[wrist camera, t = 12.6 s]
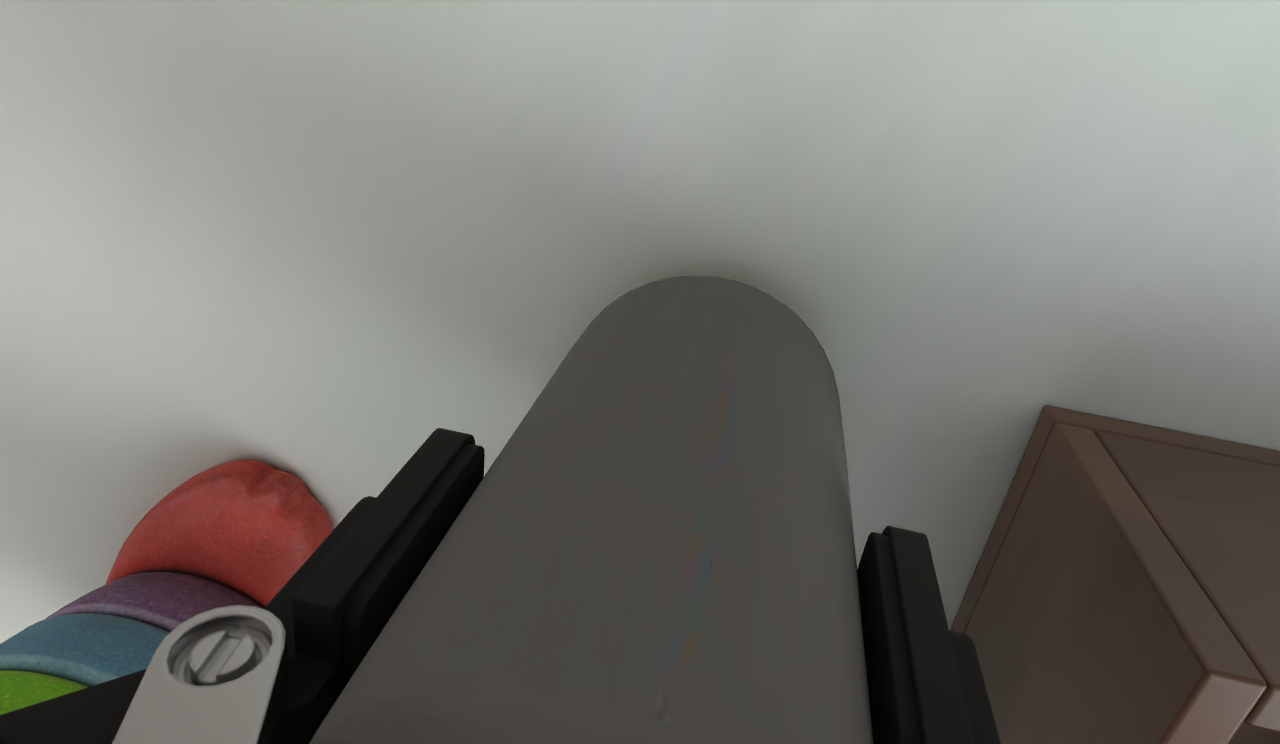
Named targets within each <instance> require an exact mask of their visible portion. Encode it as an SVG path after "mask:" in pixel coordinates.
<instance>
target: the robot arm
mask: <svg viewBox="0 0 1280 744" xmlns="http://www.w3.org/2000/svg"><path fill="white" fill-rule="evenodd" d="M483 477H484V448H483V447H482V446H478V445H475V440H474V437H473V436H472V435H470V434H465V433H460V432H456V431H451V430H447V429H442V428H437V429H436V430H435V431H434V432H433V433H432V434H431V435H430V436H429V438H428V439H427V440H426V441H425V442H424V443H423V445H422V446H421V447H420V448H419V449H418V450H417V452H416V453H415V454H414V455H413V456H412V457H411V459H410V460H409V461H408V462H407V463H406V464H405V465H404V467H403V468H402V469H401V470H400V471H399V472H398V474H397V475H396V476H395V477H394V478H393V479H392V481H391V482H390V483H389V484H388V485H387V486H386V488H385V489H384V490H383V491H382V492H381V493H380V495H379V496H378V497H377V498H375V497H371V496H369V497H365V498H363V499H362V500H361V501H360V502H358V503H357V504H356V505H355V507H354V508H353V509H352V510H351V511H350V512H349V513H348V514H347V516H346V517H345V518H344V519H343V520H342V521H341V522H340V523H339V524H338V526H337V527H336V528H335V529H334V530H333V531H332V532H331V533H330V535H329V536H328V537H327V538H326V539H325V540H324V541H323V542H322V544H321V545H320V546H319V547H318V548H317V549H316V550H315V551H314V553H313V554H312V555H311V556H310V557H309V558H308V559H307V560H306V562H305V563H304V564H303V565H302V566H301V567H300V568H299V569H298V571H297V572H296V573H295V574H294V575H293V576H292V577H291V578H290V580H289V581H288V582H287V583H286V584H285V585H284V586H283V587H282V589H281V590H280V591H279V592H278V593H277V594H276V595H275V596H274V598H273V599H272V600H271V601H270V602H269V603H268V604H267V605H266V607H265V608H264V609H261V608H259V607H256V606H244V605H233V606H226V607H218V608H215V609H212V610H209V611H206V612H203V613H200V614H197V615H195V616H194V617H192V618H190V619H188V620H186V621H184V622H183V623H181V624H179V625H178V626H177V627H176V628H175V629H174V630H172V631H171V632H170V633H169V634H168V635H167V636H165V638H164V639H163V641H162V642H161V644H160V645H159V646H158V648H157V649H156V651H155V653H154V655H153V657H152V659H151V661H150V664H149V666H148V668H147V669H144V670H141V671H138V672H135V673H132V674H128V675H125V676H122V677H119V678H116V679H113V680H110V681H106V682H103V683H100V684H97V685H94V686H91V687H87V688H84V689H81V690H78V691H75V692H72V693H68V694H65V695H62V696H59V697H56V698H53V699H50V700H46V701H43V702H40V703H37V704H34V705H31V706H27V707H24V708H21V709H18V710H15V711H12V712H9V713H5V714H2V715H0V744H309V743H310V741H311V740H312V738H313V736H314V735H315V733H316V731H317V730H318V728H319V727H320V725H321V724H322V722H323V720H324V719H325V717H326V716H327V714H328V713H329V711H330V710H331V708H332V707H333V705H334V704H335V702H336V700H337V699H338V697H339V696H340V694H341V693H342V691H343V690H344V688H345V687H346V685H347V684H348V682H349V680H350V679H351V677H352V676H353V674H354V673H355V671H356V670H357V668H358V667H359V665H360V664H361V662H362V660H363V659H364V657H365V656H366V654H367V653H368V651H369V650H370V648H371V647H372V645H373V644H374V642H375V641H376V639H377V638H378V636H379V635H380V633H381V631H382V630H383V628H384V627H385V625H386V624H387V622H388V621H389V619H390V618H391V616H392V615H393V613H394V612H395V610H396V609H397V607H398V606H399V604H400V603H401V601H402V600H403V598H404V597H405V595H406V594H407V592H408V591H409V589H410V588H411V586H412V585H413V583H414V582H415V580H416V579H417V577H418V576H419V574H420V573H421V571H422V570H423V568H424V567H425V565H426V564H427V562H428V561H429V559H430V558H431V556H432V555H433V553H434V552H435V550H436V549H437V547H438V546H439V544H440V543H441V541H442V540H443V538H444V537H445V535H446V534H447V532H448V531H449V529H450V528H451V526H452V525H453V523H454V522H455V520H456V519H457V517H458V516H459V514H460V513H461V511H462V510H463V508H464V507H465V505H466V504H467V502H468V501H469V499H470V498H471V496H472V495H473V493H474V492H475V490H476V488H477V487H478V485H479V484H480V482H481V481H482V479H483ZM857 575H858V585H859V596H860V606H861V616H862V627H863V637H864V648H865V658H866V668H867V679H868V689H869V700H870V710H871V720H872V731H873V741H874V744H1001V742H1000V738H999V735H998V731H997V727H996V723H995V720H994V716H993V712H992V708H991V705H990V701H989V697H988V693H987V690H986V686H985V682H984V678H983V675H982V671H981V667H980V663H979V660H978V656H977V652H976V648H975V646H974V643H973V641H972V639H971V638H970V637H969V636H968V635H967V634H963V633H959V632H955V631H950V630H949V629H948V624H947V620H946V616H945V612H944V607H943V603H942V599H941V594H940V590H939V586H938V581H937V577H936V573H935V568H934V564H933V560H932V556H931V551H930V547H929V543H928V539H927V536H926V535H925V534H923V533H918V532H914V531H909V530H905V529H900V528H896V527H891V526H887V527H885V529H884V530H883V532H882V534H878V533H874V532H872V533H870V535H869V537H868V539H867V542H866V545H865V548H864V551H863V554H862V557H861V560H860V563H859V566H858V569H857Z"/></svg>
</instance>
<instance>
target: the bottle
mask: <svg viewBox="0 0 1280 744" xmlns="http://www.w3.org/2000/svg"><path fill="white" fill-rule="evenodd" d="M309 744H874V741H873V731H872V720H871V710H870V700H869V689H868V679H867V668H866V658H865V648H864V637H863V627H862V616H861V606H860V596H859V585H858V575H857V565H856V554H855V544H854V533H853V523H852V513H851V502H850V492H849V481H848V471H847V461H846V453H845V444H844V436H843V427H842V418H841V410H840V401H839V394H838V390H837V386H836V381H835V377H834V373H833V370H832V368H831V365H830V363H829V361H828V358H827V356H826V354H825V351H824V349H823V348H822V346H821V345H820V343H819V341H818V340H817V338H816V337H815V335H814V333H813V332H812V331H811V330H810V329H809V328H808V327H807V325H806V324H805V323H804V322H803V321H802V320H801V319H800V318H799V317H798V316H797V315H796V314H795V313H794V312H793V311H792V310H790V309H789V308H788V307H787V306H786V305H784V304H782V303H781V302H779V301H778V300H776V299H774V298H773V297H771V296H770V295H768V294H766V293H764V292H762V291H760V290H758V289H756V288H753V287H751V286H748V285H745V284H743V283H740V282H737V281H733V280H727V279H722V278H717V277H710V276H682V277H674V278H669V279H664V280H659V281H655V282H651V283H648V284H645V285H643V286H641V287H639V288H636V289H634V290H632V291H630V292H628V293H626V294H624V295H623V296H621V297H619V298H618V299H617V300H615V301H614V302H613V303H611V304H610V305H609V306H607V307H606V308H605V309H604V310H603V311H602V312H601V313H600V314H599V315H598V316H597V317H596V318H595V319H594V320H593V321H592V322H591V324H590V325H589V326H588V328H587V329H586V330H585V331H584V333H583V334H582V335H581V337H580V338H579V339H578V341H577V342H576V343H575V345H574V346H573V347H572V349H571V350H570V352H569V353H568V355H567V356H566V357H565V359H564V360H563V362H562V363H561V365H560V366H559V368H558V369H557V371H556V372H555V374H554V375H553V376H552V378H551V379H550V381H549V382H548V384H547V385H546V387H545V388H544V390H543V391H542V393H541V394H540V396H539V397H538V398H537V400H536V401H535V403H534V404H533V406H532V407H531V409H530V410H529V412H528V413H527V415H526V416H525V418H524V419H523V420H522V422H521V423H520V425H519V426H518V428H517V429H516V431H515V432H514V434H513V435H512V437H511V438H510V439H509V441H508V442H507V444H506V445H505V447H504V448H503V450H502V451H501V453H500V454H499V456H498V457H497V459H496V460H495V461H494V463H493V464H492V466H491V467H490V469H489V470H488V472H487V473H486V475H485V476H484V478H483V479H482V481H481V482H480V484H479V485H478V487H477V488H476V490H475V492H474V493H473V495H472V496H471V498H470V499H469V501H468V502H467V504H466V505H465V507H464V508H463V510H462V511H461V513H460V514H459V516H458V517H457V519H456V520H455V522H454V523H453V525H452V526H451V528H450V529H449V531H448V532H447V534H446V535H445V537H444V538H443V540H442V541H441V543H440V544H439V546H438V547H437V549H436V550H435V552H434V553H433V555H432V556H431V558H430V559H429V561H428V562H427V564H426V565H425V567H424V568H423V570H422V571H421V573H420V574H419V576H418V577H417V579H416V580H415V582H414V583H413V585H412V586H411V588H410V589H409V591H408V592H407V594H406V595H405V597H404V598H403V600H402V601H401V603H400V604H399V606H398V607H397V609H396V610H395V612H394V613H393V615H392V616H391V618H390V619H389V621H388V622H387V624H386V625H385V627H384V628H383V630H382V631H381V633H380V635H379V636H378V638H377V639H376V641H375V642H374V644H373V645H372V647H371V648H370V650H369V651H368V653H367V654H366V656H365V657H364V659H363V660H362V662H361V664H360V665H359V667H358V668H357V670H356V671H355V673H354V674H353V676H352V677H351V679H350V680H349V682H348V684H347V685H346V687H345V688H344V690H343V691H342V693H341V694H340V696H339V697H338V699H337V700H336V702H335V704H334V705H333V707H332V708H331V710H330V711H329V713H328V714H327V716H326V717H325V719H324V720H323V722H322V724H321V725H320V727H319V728H318V730H317V731H316V733H315V735H314V736H313V738H312V740H311V741H310V743H309Z"/></svg>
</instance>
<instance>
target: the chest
mask: <svg viewBox="0 0 1280 744" xmlns="http://www.w3.org/2000/svg"><path fill="white" fill-rule="evenodd" d="M950 631H955V632H959V633H963V634H967V635H968V636H969V637H970V638H971V639H972V641H973V643H974V646H975V648H976V652H977V656H978V660H979V663H980V667H981V671H982V675H983V678H984V682H985V686H986V690H987V693H988V697H989V701H990V705H991V708H992V712H993V716H994V720H995V723H996V727H997V731H998V735H999V738H1000V742H1001V744H1280V451H1275V450H1270V449H1265V448H1260V447H1255V446H1250V445H1244V444H1239V443H1234V442H1229V441H1224V440H1219V439H1214V438H1209V437H1204V436H1199V435H1194V434H1188V433H1183V432H1178V431H1173V430H1168V429H1163V428H1158V427H1153V426H1148V425H1143V424H1138V423H1133V422H1127V421H1122V420H1117V419H1112V418H1107V417H1102V416H1097V415H1092V414H1087V413H1082V412H1077V411H1071V410H1066V409H1061V408H1056V407H1051V406H1045V407H1044V409H1043V411H1042V414H1041V416H1040V419H1039V421H1038V423H1037V426H1036V428H1035V430H1034V433H1033V435H1032V438H1031V440H1030V442H1029V445H1028V447H1027V449H1026V452H1025V454H1024V457H1023V459H1022V461H1021V464H1020V466H1019V469H1018V471H1017V473H1016V476H1015V478H1014V480H1013V483H1012V485H1011V488H1010V490H1009V492H1008V495H1007V497H1006V499H1005V502H1004V504H1003V507H1002V509H1001V511H1000V514H999V516H998V518H997V521H996V523H995V526H994V528H993V530H992V533H991V535H990V538H989V540H988V542H987V545H986V547H985V549H984V552H983V554H982V557H981V559H980V561H979V564H978V566H977V568H976V571H975V573H974V576H973V578H972V580H971V583H970V585H969V587H968V590H967V592H966V595H965V597H964V599H963V602H962V604H961V606H960V609H959V611H958V614H957V616H956V618H955V621H954V623H953V626H952V628H951V630H950Z"/></svg>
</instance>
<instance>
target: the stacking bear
mask: <svg viewBox="0 0 1280 744" xmlns="http://www.w3.org/2000/svg"><path fill="white" fill-rule="evenodd" d="M332 531H333V530H332V525H331V522H330V520H329V517H328V514H327V513H326V511H325V510H324V508H323V507H322V506H321V505H320V504H319V503H318V502H317V500H316V499H315V498H314V497H313V496H312V495H311V494H310V493H309V491H308V490H307V488H306V486H305V485H304V483H303V482H302V481H301V480H300V479H299V478H297V477H296V476H294V475H291V474H289V473H286V472H283V471H280V470H277V469H274V468H272V467H271V466H269V465H267V464H264V463H261V462H258V461H251V460H237V461H231V462H228V463H225V464H222V465H219V466H216V467H214V468H211V469H209V470H206V471H204V472H202V473H200V474H198V475H196V476H194V477H192V478H191V479H189V480H188V481H186V482H185V483H183V484H182V485H180V486H179V487H177V488H176V489H174V490H173V491H171V492H170V493H169V494H168V495H167V496H166V497H165V498H163V499H162V500H161V501H160V502H159V503H158V504H157V505H156V506H154V507H153V508H152V509H151V510H150V511H149V512H148V513H147V514H146V515H145V516H144V518H143V519H142V520H141V521H140V522H139V523H138V524H137V525H136V527H135V528H134V530H133V531H132V532H131V534H130V535H129V537H128V538H127V540H126V541H125V543H124V544H123V546H122V548H121V550H120V552H119V554H118V556H117V558H116V560H115V563H114V565H113V567H112V569H111V572H110V574H109V577H108V579H107V582H106V585H104V586H102V587H100V588H98V589H96V590H94V591H92V592H90V593H88V594H86V595H84V596H82V597H80V598H79V599H77V600H75V601H73V602H72V603H70V604H68V605H66V606H64V607H63V608H61V609H60V610H58V611H57V612H55V613H53V614H52V615H50V616H49V617H47V618H46V619H45V620H42V621H40V622H37V623H35V624H33V625H31V626H29V627H27V628H26V629H24V630H23V631H21V632H19V633H18V634H16V635H15V636H13V637H11V638H10V639H8V640H6V641H5V642H3V643H2V644H0V715H2V714H5V713H9V712H12V711H15V710H18V709H21V708H24V707H27V706H31V705H34V704H37V703H40V702H43V701H46V700H50V699H53V698H56V697H59V696H62V695H65V694H68V693H72V692H75V691H78V690H81V689H84V688H87V687H91V686H94V685H97V684H100V683H103V682H106V681H110V680H113V679H116V678H119V677H122V676H125V675H128V674H132V673H135V672H138V671H141V670H144V669H147V668H148V666H149V664H150V661H151V659H152V657H153V655H154V653H155V651H156V649H157V648H158V646H159V645H160V644H161V642H162V641H163V639H164V638H165V636H167V635H168V634H169V633H170V632H171V631H172V630H174V629H175V628H176V627H177V626H178V625H179V624H181V623H183V622H184V621H186V620H188V619H190V618H192V617H194V616H195V615H197V614H200V613H203V612H206V611H209V610H212V609H215V608H218V607H226V606H233V605H244V606H256V607H259V608H261V609H264V608H265V607H266V605H267V604H268V603H269V602H270V601H271V600H272V599H273V598H274V596H275V595H276V594H277V593H278V592H279V591H280V590H281V589H282V587H283V586H284V585H285V584H286V583H287V582H288V581H289V580H290V578H291V577H292V576H293V575H294V574H295V573H296V572H297V571H298V569H299V568H300V567H301V566H302V565H303V564H304V563H305V562H306V560H307V559H308V558H309V557H310V556H311V555H312V554H313V553H314V551H315V550H316V549H317V548H318V547H319V546H320V545H321V544H322V542H323V541H324V540H325V539H326V538H327V537H328V536H329V535H330V533H331V532H332Z"/></svg>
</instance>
